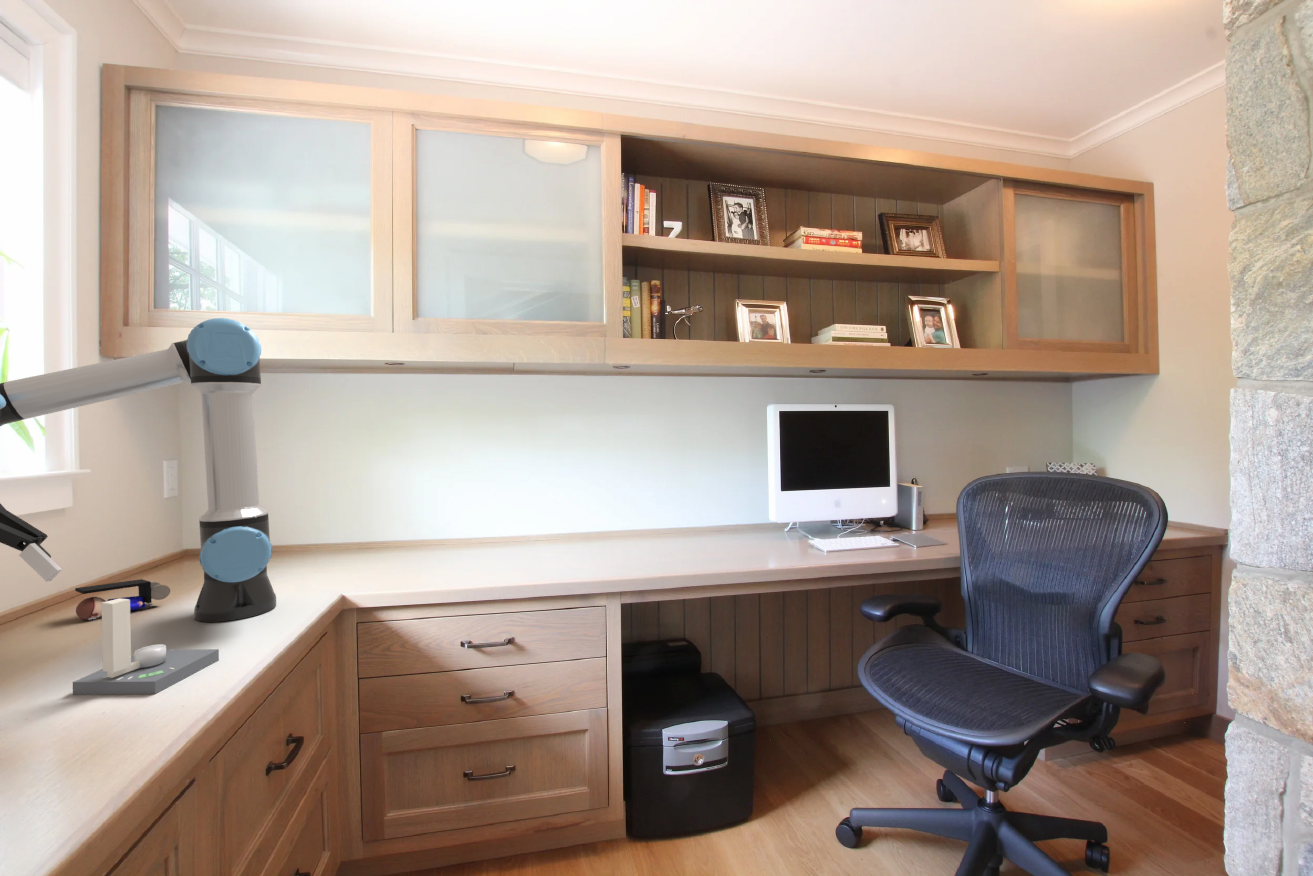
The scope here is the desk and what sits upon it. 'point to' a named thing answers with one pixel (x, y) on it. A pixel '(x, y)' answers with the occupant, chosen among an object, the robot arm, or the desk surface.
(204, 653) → the dial plate
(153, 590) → the figurine character
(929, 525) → the desk surface
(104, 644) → the lever
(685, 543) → the desk surface
